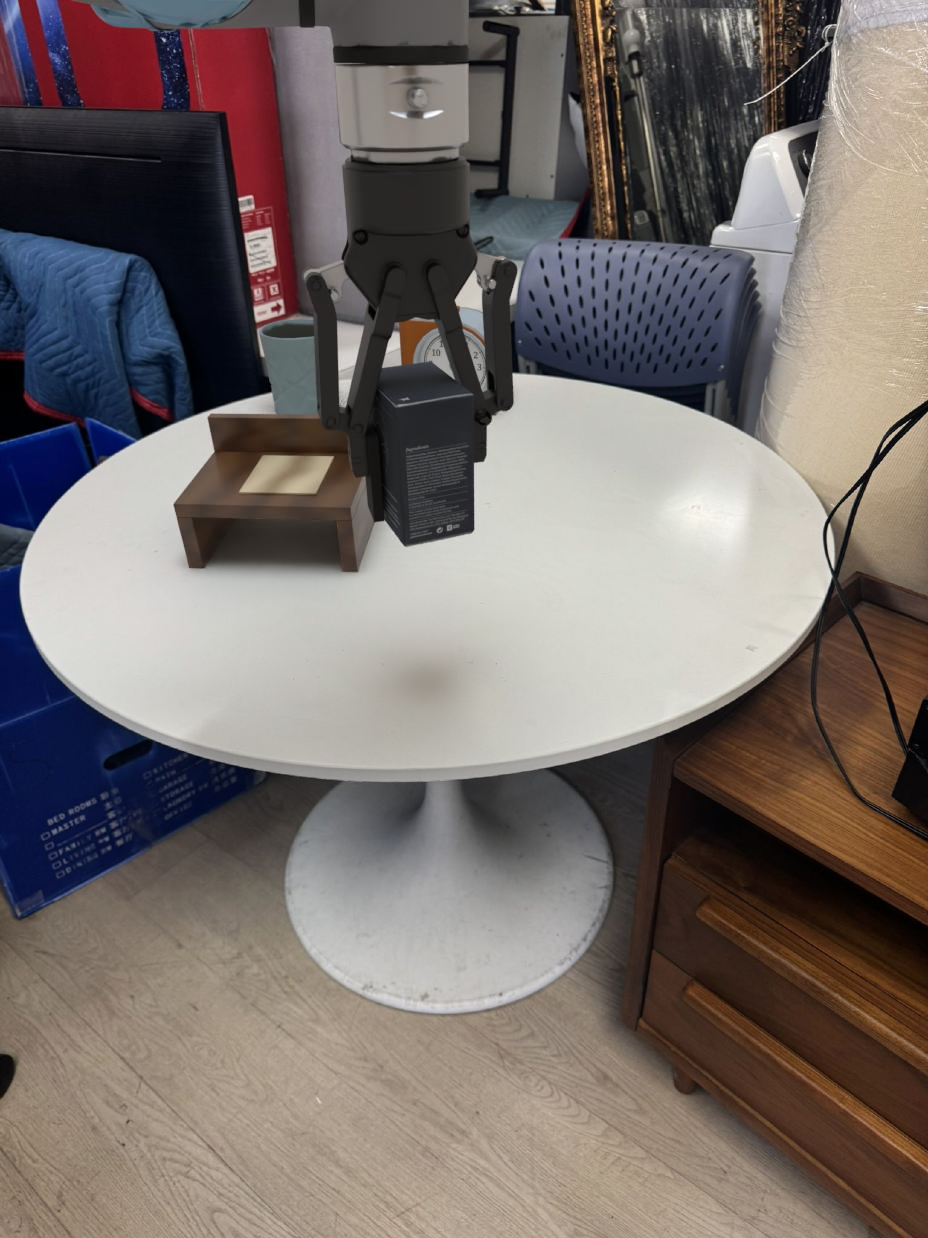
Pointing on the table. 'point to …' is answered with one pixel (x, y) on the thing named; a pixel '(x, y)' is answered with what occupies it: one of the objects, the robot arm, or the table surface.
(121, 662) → the table surface
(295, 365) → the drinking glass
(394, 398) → the box
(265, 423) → the shelf
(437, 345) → the alarm clock
